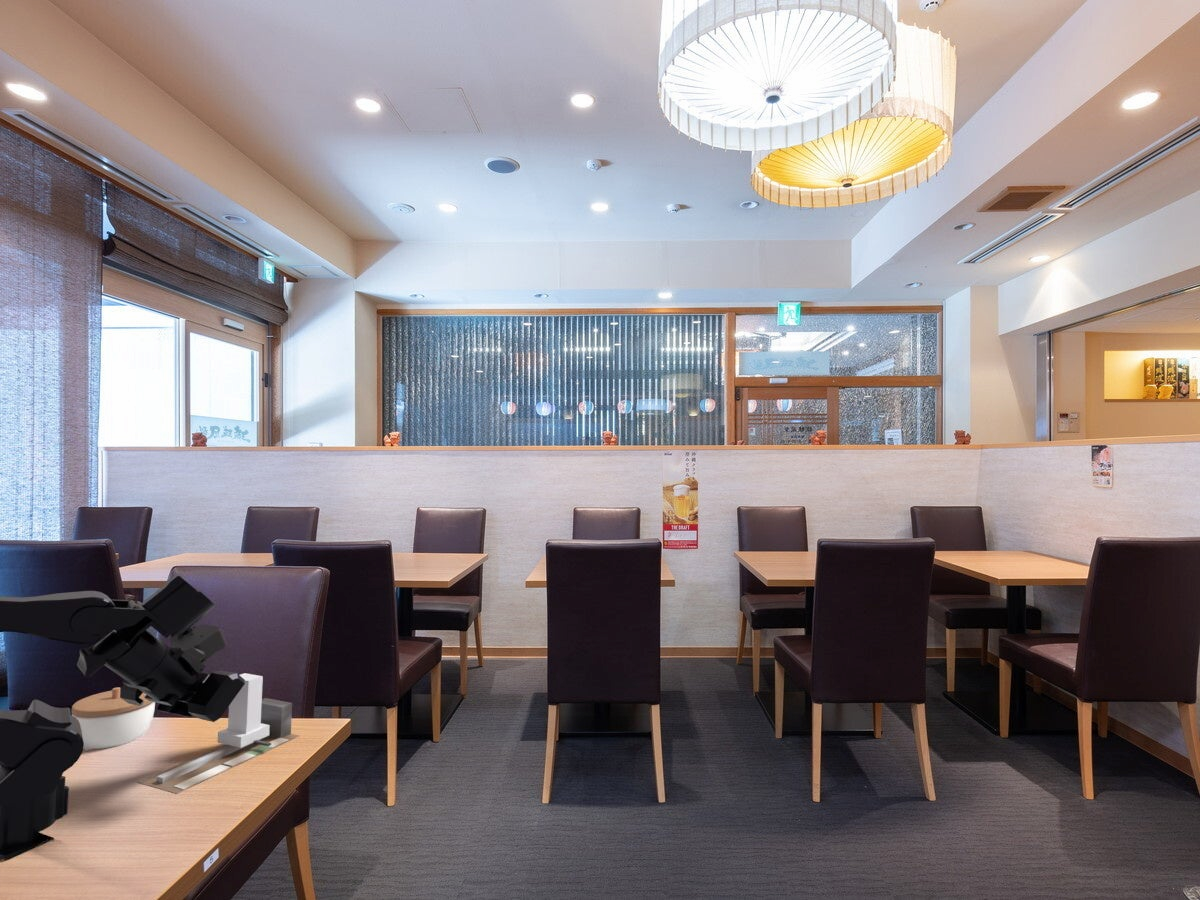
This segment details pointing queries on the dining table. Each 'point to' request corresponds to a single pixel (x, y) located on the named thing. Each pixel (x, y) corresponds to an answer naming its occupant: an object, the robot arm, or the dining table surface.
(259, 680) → the slider
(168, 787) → the base
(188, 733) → the dining table surface
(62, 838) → the dining table surface
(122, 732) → the lidded jar
